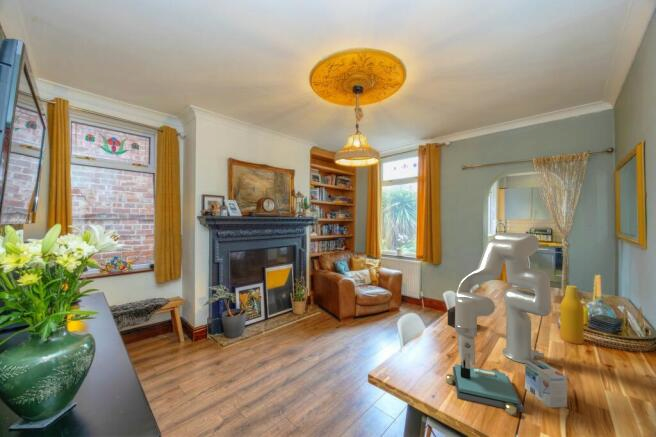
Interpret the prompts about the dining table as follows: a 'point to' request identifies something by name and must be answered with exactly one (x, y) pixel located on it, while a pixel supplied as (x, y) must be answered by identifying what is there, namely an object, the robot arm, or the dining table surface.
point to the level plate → (486, 384)
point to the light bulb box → (546, 383)
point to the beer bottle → (572, 317)
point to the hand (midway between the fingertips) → (465, 377)
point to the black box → (451, 317)
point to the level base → (508, 406)
